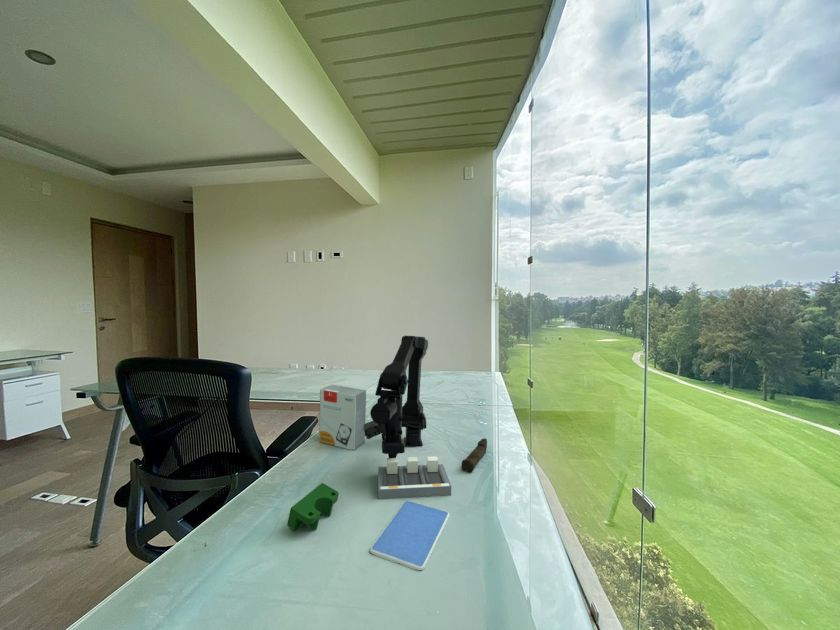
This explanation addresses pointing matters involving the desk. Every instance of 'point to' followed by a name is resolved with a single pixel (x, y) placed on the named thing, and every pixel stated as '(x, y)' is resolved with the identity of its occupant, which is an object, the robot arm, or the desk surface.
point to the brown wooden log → (474, 456)
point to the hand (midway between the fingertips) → (391, 462)
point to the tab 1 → (392, 465)
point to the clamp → (312, 507)
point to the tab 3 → (432, 464)
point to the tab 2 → (412, 465)
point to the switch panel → (413, 483)
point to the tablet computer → (411, 535)
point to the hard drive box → (342, 416)
